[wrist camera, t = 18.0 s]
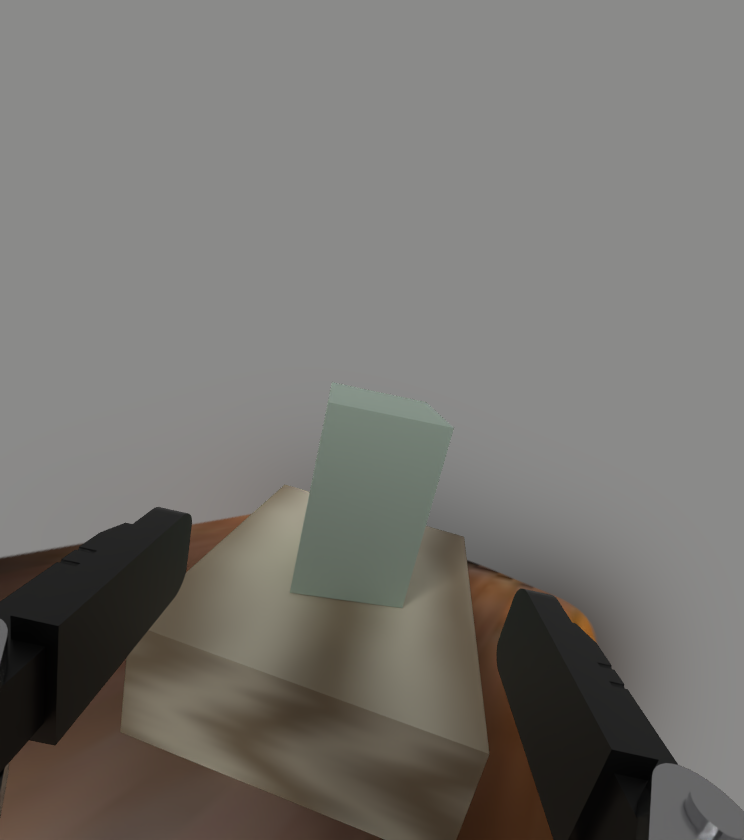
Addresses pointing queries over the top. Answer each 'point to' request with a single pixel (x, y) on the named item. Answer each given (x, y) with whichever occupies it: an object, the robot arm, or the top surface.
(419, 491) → the sage block
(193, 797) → the top surface
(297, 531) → the birch block
